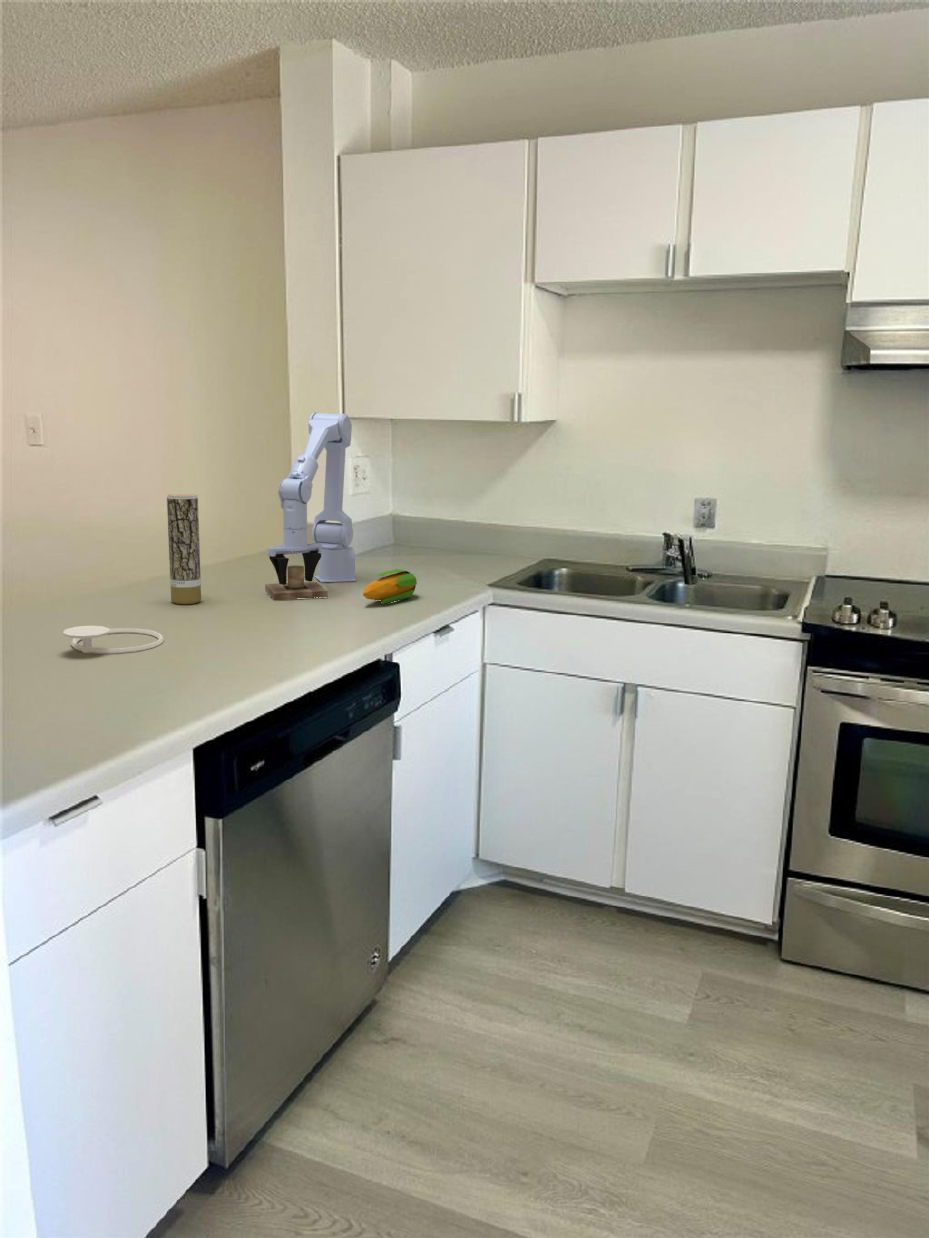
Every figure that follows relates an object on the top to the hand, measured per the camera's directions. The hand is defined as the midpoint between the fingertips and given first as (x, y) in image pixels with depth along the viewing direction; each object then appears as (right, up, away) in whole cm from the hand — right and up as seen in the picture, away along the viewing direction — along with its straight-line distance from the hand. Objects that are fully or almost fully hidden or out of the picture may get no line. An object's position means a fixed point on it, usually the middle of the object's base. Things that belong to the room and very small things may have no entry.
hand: (295, 582), depth 227 cm
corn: (+24, -5, -3) cm, 24 cm away
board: (0, -3, +1) cm, 3 cm away
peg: (0, -3, +1) cm, 3 cm away
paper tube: (-24, -5, -12) cm, 27 cm away
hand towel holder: (-26, -14, -50) cm, 59 cm away
